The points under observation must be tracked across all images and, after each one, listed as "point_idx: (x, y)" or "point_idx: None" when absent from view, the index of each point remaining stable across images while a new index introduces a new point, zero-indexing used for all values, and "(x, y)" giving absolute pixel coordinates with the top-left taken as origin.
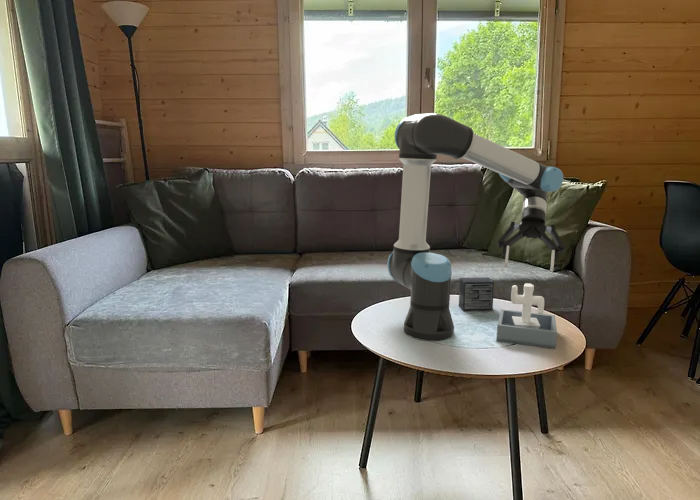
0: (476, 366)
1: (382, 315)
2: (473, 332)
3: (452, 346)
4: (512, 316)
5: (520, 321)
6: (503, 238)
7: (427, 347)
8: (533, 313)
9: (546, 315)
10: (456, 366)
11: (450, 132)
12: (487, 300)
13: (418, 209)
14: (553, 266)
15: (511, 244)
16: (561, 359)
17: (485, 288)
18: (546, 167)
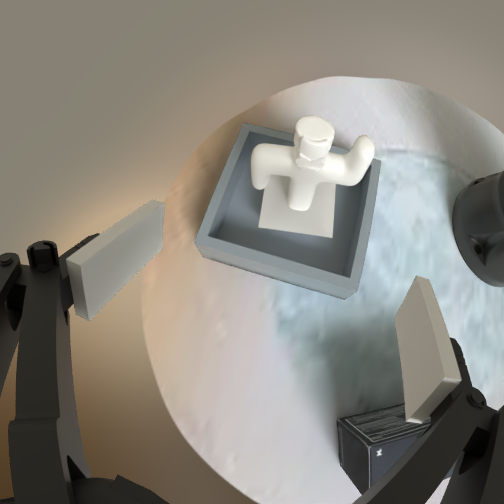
0: (401, 93)
1: None
2: (414, 233)
3: (446, 161)
4: (330, 234)
5: (315, 194)
6: (500, 450)
7: (479, 160)
8: (258, 256)
9: (221, 240)
10: (428, 97)
11: None
12: (366, 422)
13: None
14: (151, 201)
15: (406, 452)
16: (251, 109)
17: (391, 430)
18: None
